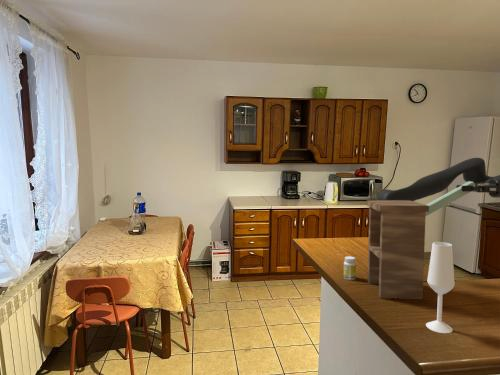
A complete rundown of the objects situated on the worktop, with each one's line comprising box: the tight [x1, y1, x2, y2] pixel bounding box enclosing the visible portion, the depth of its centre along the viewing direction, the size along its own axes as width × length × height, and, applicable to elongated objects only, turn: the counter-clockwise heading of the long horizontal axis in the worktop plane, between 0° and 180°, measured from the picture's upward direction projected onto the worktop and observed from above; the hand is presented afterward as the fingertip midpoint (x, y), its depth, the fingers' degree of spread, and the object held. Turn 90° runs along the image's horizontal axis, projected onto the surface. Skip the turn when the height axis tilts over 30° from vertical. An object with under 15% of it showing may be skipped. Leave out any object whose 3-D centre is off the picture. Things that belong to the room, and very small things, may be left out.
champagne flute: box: [425, 241, 456, 334], centre depth 96 cm, size 7×7×24 cm
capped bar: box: [425, 181, 475, 217], centre depth 136 cm, size 4×28×4 cm
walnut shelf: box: [366, 199, 429, 300], centre depth 124 cm, size 16×16×32 cm
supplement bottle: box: [343, 255, 357, 281], centre depth 137 cm, size 5×5×8 cm
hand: (459, 188), depth 135 cm, fingers closed on capped bar, 3 cm apart
